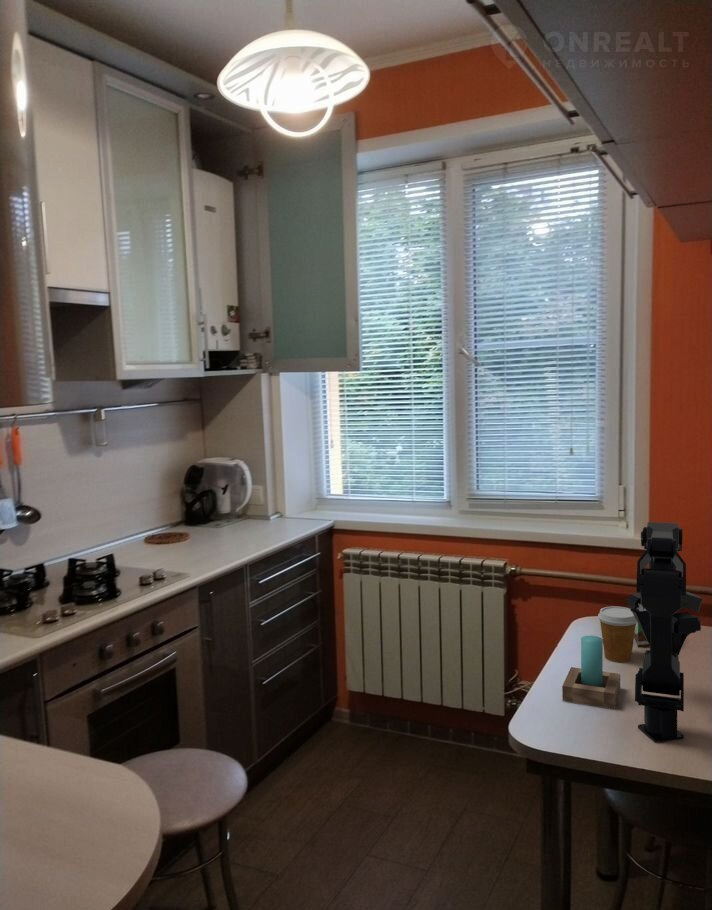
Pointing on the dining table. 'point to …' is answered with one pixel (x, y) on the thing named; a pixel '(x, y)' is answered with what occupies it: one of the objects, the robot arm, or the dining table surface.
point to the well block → (591, 690)
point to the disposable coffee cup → (617, 632)
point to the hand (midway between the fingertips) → (661, 649)
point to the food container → (640, 637)
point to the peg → (592, 661)
